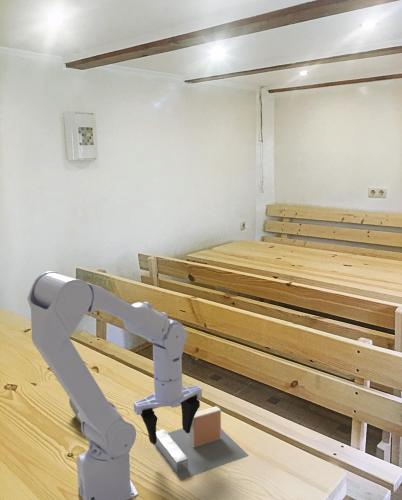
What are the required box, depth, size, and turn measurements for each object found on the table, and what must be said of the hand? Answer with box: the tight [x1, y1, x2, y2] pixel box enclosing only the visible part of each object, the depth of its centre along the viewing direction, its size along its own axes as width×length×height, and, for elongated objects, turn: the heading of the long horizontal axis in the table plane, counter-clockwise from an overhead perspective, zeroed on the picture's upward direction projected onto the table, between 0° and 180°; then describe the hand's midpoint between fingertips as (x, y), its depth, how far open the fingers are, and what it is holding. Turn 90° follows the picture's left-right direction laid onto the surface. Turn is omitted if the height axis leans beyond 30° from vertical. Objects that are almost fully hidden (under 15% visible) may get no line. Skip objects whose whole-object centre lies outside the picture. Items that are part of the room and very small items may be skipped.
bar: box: [154, 429, 188, 473], centre depth 96 cm, size 2×12×2 cm, turn 28°
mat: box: [148, 427, 249, 481], centre depth 99 cm, size 16×16×1 cm
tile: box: [189, 405, 222, 448], centre depth 101 cm, size 7×2×7 cm, turn 118°
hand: (169, 435), depth 96 cm, fingers open, 7 cm apart
